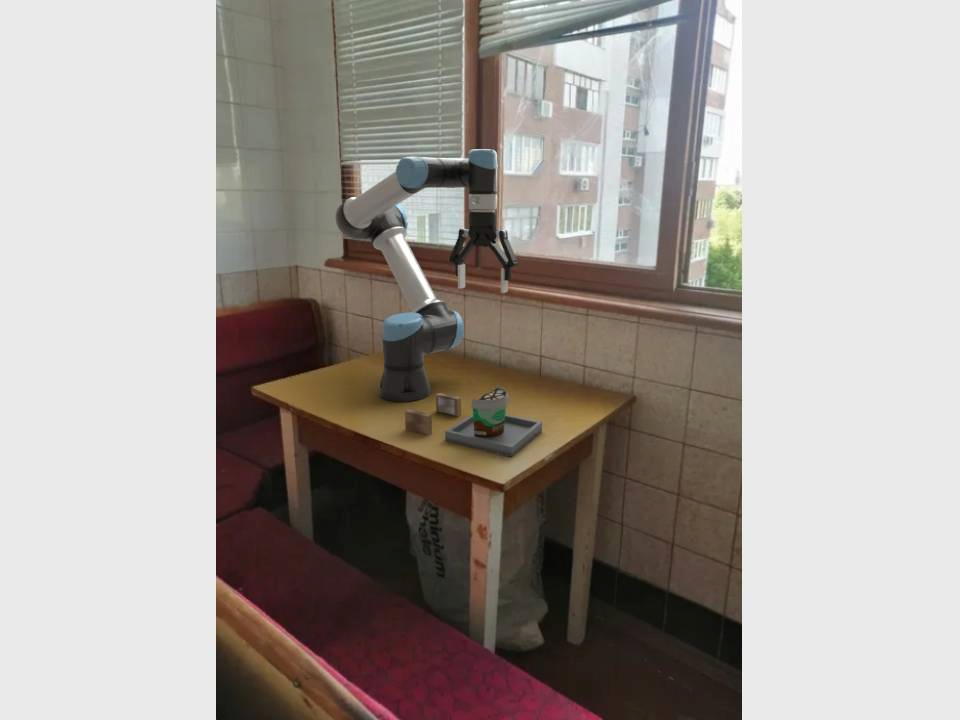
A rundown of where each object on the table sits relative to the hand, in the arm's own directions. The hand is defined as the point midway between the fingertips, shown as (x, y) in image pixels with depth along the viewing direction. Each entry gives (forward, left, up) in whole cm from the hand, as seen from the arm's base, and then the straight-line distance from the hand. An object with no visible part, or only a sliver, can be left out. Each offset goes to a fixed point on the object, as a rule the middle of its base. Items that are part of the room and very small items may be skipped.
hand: (482, 290), depth 162 cm
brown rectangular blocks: (-2, -22, -32) cm, 39 cm away
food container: (+16, -22, -31) cm, 41 cm away
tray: (+16, -22, -32) cm, 42 cm away
